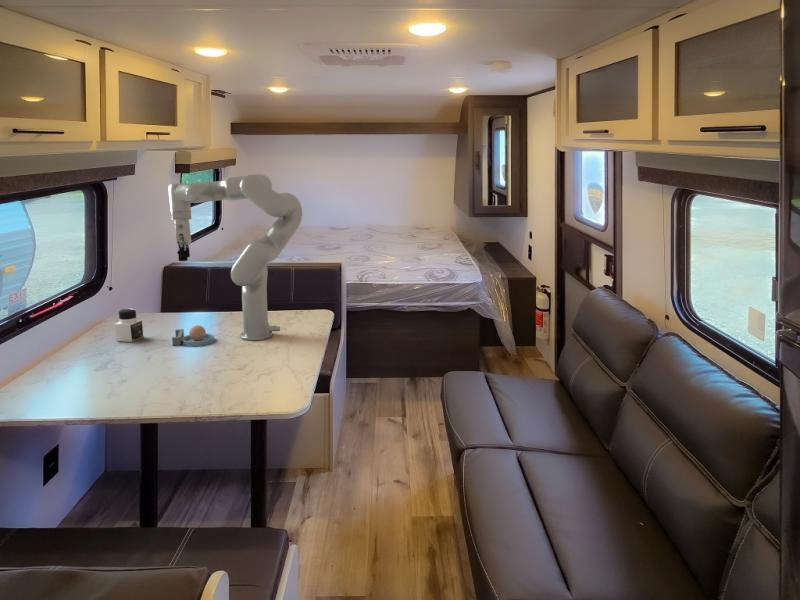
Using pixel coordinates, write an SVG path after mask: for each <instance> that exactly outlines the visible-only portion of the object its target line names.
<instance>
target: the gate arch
mask: <svg viewBox="0 0 800 600" xmlns="http://www.w3.org/2000/svg"><path fill="white" fill-rule="evenodd" d="M174 331H175V336H172V337H171V340H172V346H173V345H174V346H182V343H181V339H182V337H185V331H184V328H179V329H175V330H174Z"/></svg>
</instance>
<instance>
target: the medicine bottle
mask: <svg viewBox="0 0 800 600" xmlns="http://www.w3.org/2000/svg"><path fill="white" fill-rule="evenodd" d="M118 318H119V321H118V322H115V323H114V330H115V331H114V332H115V340H116V342H125V343H126V342H127V343H133V342H136V341H138V340H140V339H142V337H143V338H144V327H143V321H142V320H141V319H137V311H136V309H134V308H129V307H128V308H122V309H120V310H119V311H118Z"/></svg>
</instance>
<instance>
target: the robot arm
mask: <svg viewBox="0 0 800 600" xmlns="http://www.w3.org/2000/svg"><path fill="white" fill-rule="evenodd" d="M272 188H273V183H272V181H271V179H270V178H269V177H268V176H266V175H265V174H259V173H258V174H256V173H255V174H247V175H243V176H242V175H241V176H231V177H227V178H226V179H224V180H217V181H215V180H214V181H209V182H208V181H207V182H206V181H205V182H192V183H183V182H182V183H179V182H177V183H175V182H174V183H170V184H169V185H168V198H169V210H170V219H171V220H172V221H173V222H174V232H175V244H176V245H177V248H178V249H177V255H178V261H179V262H187V261H188V258H190V257H191V255H190V254H191V253H190V245H191V243H192V234H191V226H190V225H191V224H190V220H192V210H191V209H192V208H191V204H198V203H199V204H200V203H208V202H216V201H217V202H218V201H227V200H229V201H238V200H239V201H240V200H248V201H250V202H251V203H253V204H254V205H255V206H257V208H259V209H260V210H261V211H263V212H264V213H265V214H267V215H269V216H271V217H273V218H277V219H275V221H273V223H272V224H271V226H270V228H269V229H268V230H267V231H266V233H265V234H264V235H263V236H262V237H260V238H257V239H254V240H252V241H251V242H250V243H249V244H248V245H247V246H246V247H245V248H244V249H243V251H242V253H241V254H240V255H239V257H238V258H237V259H236V261H234V263H233V265H232V267H231V270H230V278H231V280H232V282H233V283H234V284H235V285H236V286H239V287H241V302H242V303H241V305H242V307H241V309H242V320H243V323H242V324H243V331H242V332H240V334H239V338H241V339H242V340H244V341H245V340H246V341H262V340H267V339H270V338H271V337H272V336H273V335H274V334H273V332H281V326H279V325H278V326H277V325H270V323H269V315H268V313H269V312H268V293H267V292H268V290H267V286H268V285H267V283H268V273H269V272H268V266H267V264H268V263H271V262H273V261H274V260H276V259H277V258H278V257H279V256H280V254H281V252H282V251H283V249H284V248H285V247H286V245H288V243H289V241H290V240H291V238H292V237H293V236H294V234H295V233H296V232H297V230H298V228H299V227H300V225H301V222H302V218H303V208H302V207H303V206H302V205H301V202H300V200H299V199H298V197H296V195H294V194H293V193H289V192H281V193H278V192H276V191H275V190H274V189H272Z"/></svg>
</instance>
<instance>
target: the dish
mask: <svg viewBox="0 0 800 600" xmlns="http://www.w3.org/2000/svg"><path fill="white" fill-rule="evenodd" d="M214 342H215V335H213V334H212V333H206V334H205V337H204V338H203V339H202V340H200V341H195V340H193V339H191V337H190V335H189V334H187V335H184V337H182V339H181V343H182V344H181V346H187V347H202V346H206V345H210V344H213V343H214Z"/></svg>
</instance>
